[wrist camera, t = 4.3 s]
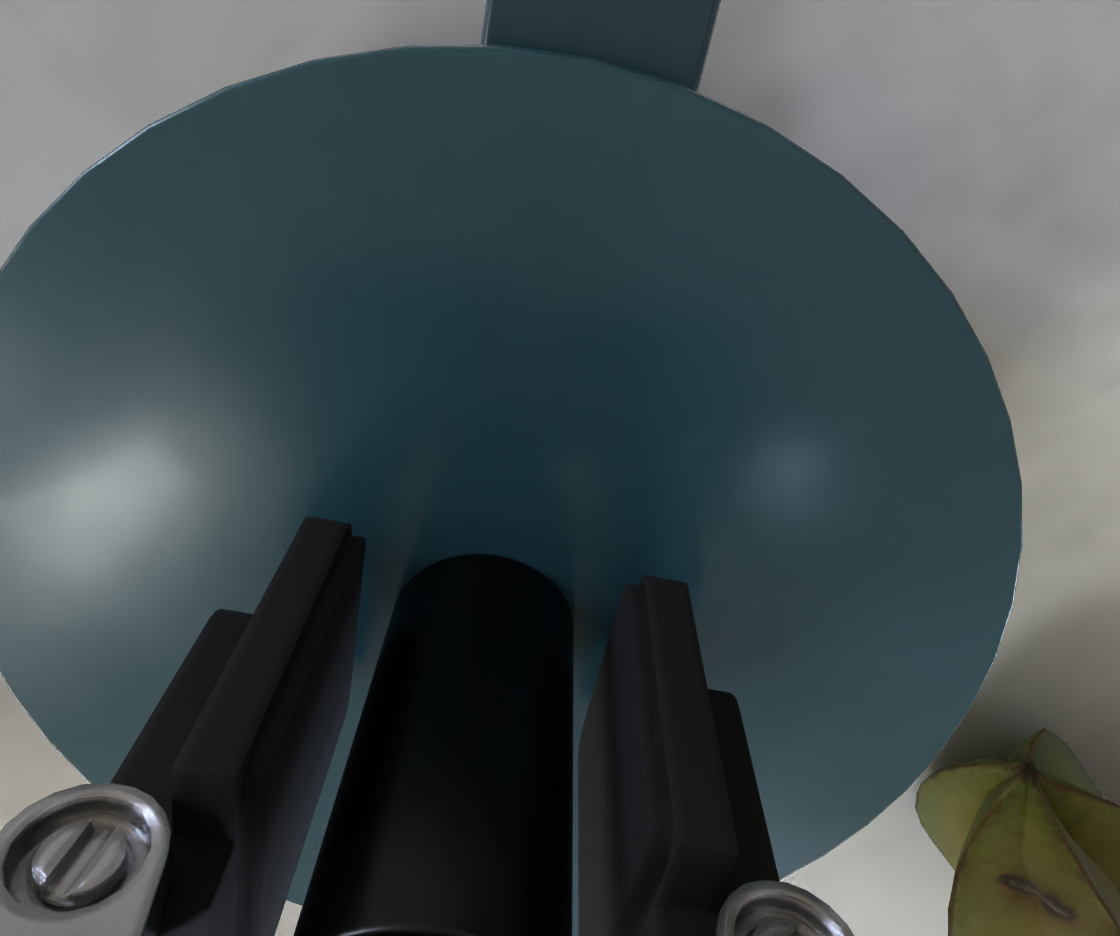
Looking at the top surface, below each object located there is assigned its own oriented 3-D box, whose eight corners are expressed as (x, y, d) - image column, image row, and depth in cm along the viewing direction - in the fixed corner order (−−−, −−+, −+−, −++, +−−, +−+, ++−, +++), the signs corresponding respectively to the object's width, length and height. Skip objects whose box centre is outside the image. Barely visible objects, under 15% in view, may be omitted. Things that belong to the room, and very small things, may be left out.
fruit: (803, 914, 28) (862, 1148, 22) (925, 637, 23) (1047, 855, 17) (1129, 947, 29) (1269, 1183, 23) (1329, 685, 23) (1581, 912, 17)
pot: (228, 634, 23) (60, 935, 15) (237, -201, 14) (-134, -430, 7) (690, 709, 24) (742, 1026, 16) (963, -27, 15) (1333, -60, 8)
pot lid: (44, 822, 15) (-256, 1279, 10) (-88, -97, 8) (-1272, -285, 3) (793, 929, 16) (902, 1394, 11) (1195, 189, 9) (2004, 426, 4)
